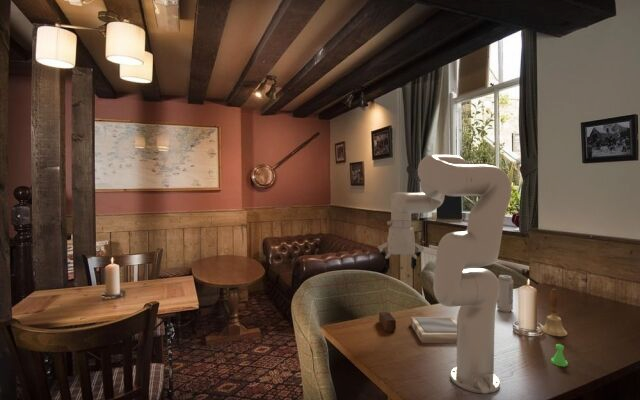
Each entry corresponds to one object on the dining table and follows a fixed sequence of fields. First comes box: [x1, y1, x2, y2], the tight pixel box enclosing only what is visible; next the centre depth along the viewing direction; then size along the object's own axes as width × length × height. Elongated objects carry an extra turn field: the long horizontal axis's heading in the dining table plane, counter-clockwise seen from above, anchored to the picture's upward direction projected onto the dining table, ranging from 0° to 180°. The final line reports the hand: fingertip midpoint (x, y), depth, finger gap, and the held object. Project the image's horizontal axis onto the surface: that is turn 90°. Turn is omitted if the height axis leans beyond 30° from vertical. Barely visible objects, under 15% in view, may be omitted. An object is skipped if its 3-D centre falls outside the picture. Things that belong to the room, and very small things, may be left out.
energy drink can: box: [496, 274, 514, 313], centre depth 154 cm, size 6×6×15 cm
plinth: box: [410, 316, 457, 344], centre depth 132 cm, size 16×16×3 cm
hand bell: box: [540, 288, 568, 337], centre depth 132 cm, size 8×8×16 cm
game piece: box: [550, 343, 569, 368], centre depth 110 cm, size 4×4×6 cm
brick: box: [378, 311, 397, 333], centre depth 138 cm, size 11×4×5 cm, turn 4°
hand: (400, 268), depth 140 cm, fingers open, 9 cm apart
